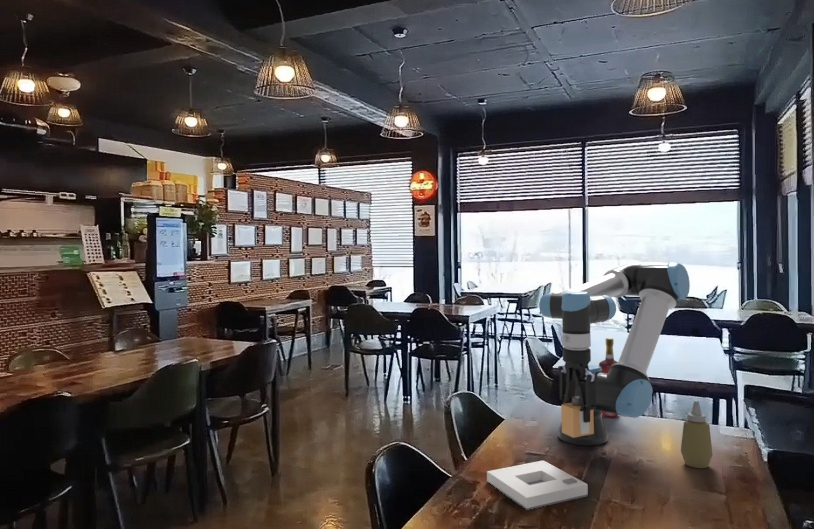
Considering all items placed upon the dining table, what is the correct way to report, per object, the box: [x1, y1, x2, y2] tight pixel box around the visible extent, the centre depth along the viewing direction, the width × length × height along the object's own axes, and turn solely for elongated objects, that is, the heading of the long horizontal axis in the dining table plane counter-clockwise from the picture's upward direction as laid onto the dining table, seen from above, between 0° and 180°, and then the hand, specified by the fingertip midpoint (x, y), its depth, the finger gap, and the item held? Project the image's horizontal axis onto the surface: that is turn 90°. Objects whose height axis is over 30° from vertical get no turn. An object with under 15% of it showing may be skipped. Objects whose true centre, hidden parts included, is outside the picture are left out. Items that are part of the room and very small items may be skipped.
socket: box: [486, 459, 589, 511], centre depth 151 cm, size 18×18×3 cm
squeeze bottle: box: [680, 400, 714, 469], centre depth 165 cm, size 8×8×18 cm
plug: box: [560, 396, 594, 438], centre depth 164 cm, size 5×7×10 cm
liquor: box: [598, 337, 619, 419], centre depth 213 cm, size 7×7×28 cm
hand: (577, 430), depth 165 cm, fingers closed on plug, 5 cm apart
